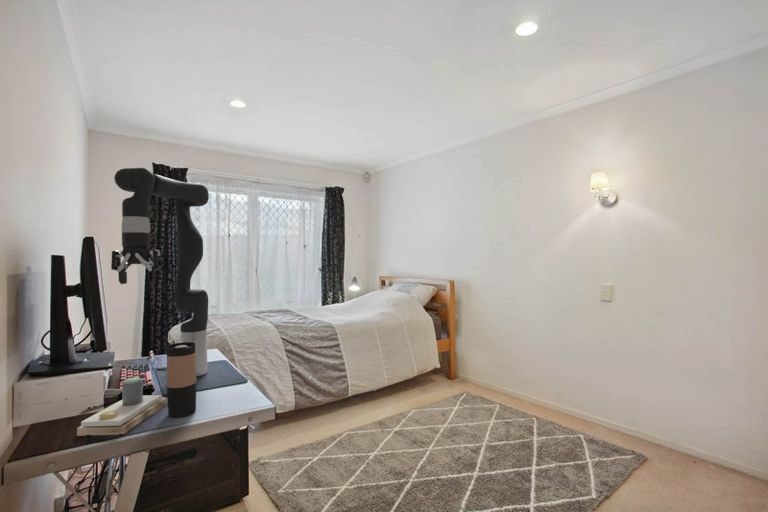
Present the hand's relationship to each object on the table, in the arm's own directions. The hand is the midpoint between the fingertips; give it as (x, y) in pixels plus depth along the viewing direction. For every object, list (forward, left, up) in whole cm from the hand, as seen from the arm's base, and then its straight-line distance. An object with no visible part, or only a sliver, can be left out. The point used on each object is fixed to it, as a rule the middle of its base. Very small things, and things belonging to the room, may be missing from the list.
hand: (137, 283), depth 119 cm
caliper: (-6, -9, -38) cm, 40 cm away
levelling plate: (+11, +3, -36) cm, 38 cm away
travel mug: (+8, +17, -38) cm, 43 cm away
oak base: (+11, +3, -38) cm, 40 cm away
